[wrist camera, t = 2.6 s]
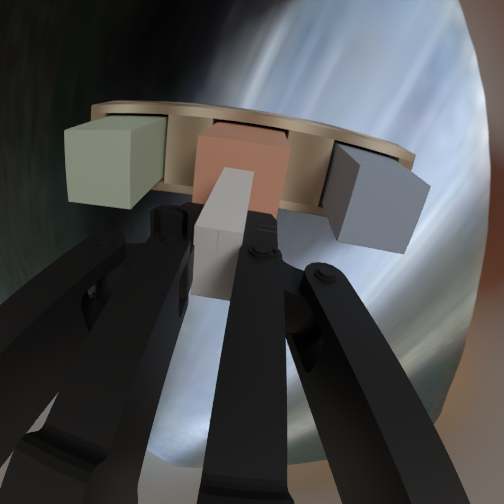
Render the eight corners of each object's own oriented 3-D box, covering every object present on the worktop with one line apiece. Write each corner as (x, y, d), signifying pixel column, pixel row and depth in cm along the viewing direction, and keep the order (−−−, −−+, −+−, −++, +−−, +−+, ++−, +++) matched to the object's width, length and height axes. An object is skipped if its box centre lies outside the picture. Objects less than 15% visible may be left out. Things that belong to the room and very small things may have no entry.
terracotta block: (211, 181, 23) (191, 217, 17) (218, 121, 21) (198, 135, 15) (272, 190, 24) (273, 230, 18) (284, 131, 21) (290, 149, 15)
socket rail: (112, 169, 26) (92, 183, 23) (113, 100, 22) (91, 105, 19) (376, 211, 27) (390, 230, 24) (397, 144, 23) (416, 154, 20)
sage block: (112, 170, 23) (68, 201, 17) (113, 114, 20) (64, 130, 14) (164, 175, 23) (130, 209, 17) (168, 116, 21) (131, 130, 15)
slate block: (320, 199, 24) (337, 241, 18) (334, 141, 21) (360, 165, 15) (373, 211, 24) (403, 254, 18) (390, 157, 21) (430, 186, 15)
